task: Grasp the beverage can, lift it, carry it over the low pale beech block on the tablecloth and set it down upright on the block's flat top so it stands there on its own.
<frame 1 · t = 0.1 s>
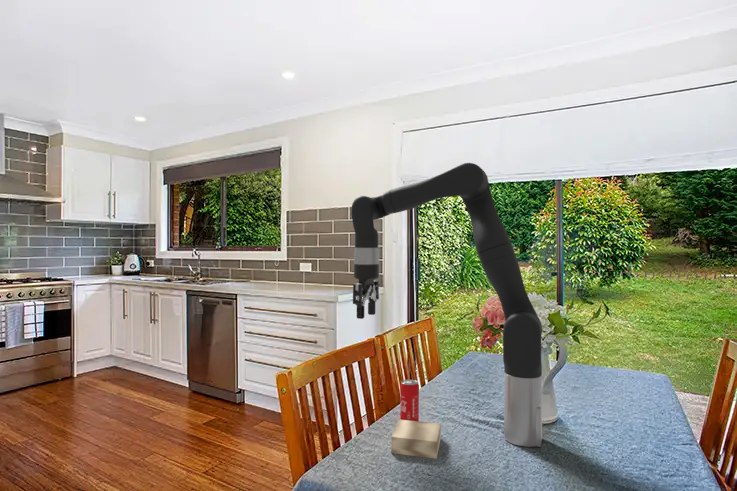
hand: (366, 316, 133), 29 cm above the table, fingers open, 8 cm apart
beverage can: (409, 425, 124), on the table
beech block: (416, 445, 111), on the table
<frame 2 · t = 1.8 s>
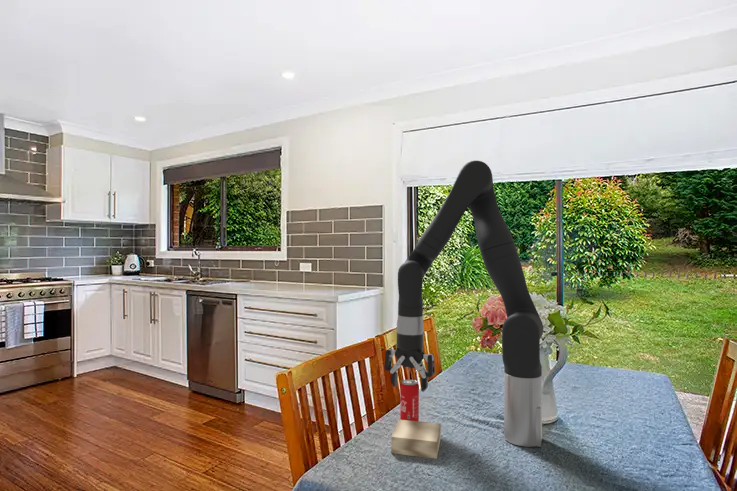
hand: (408, 388, 125), 10 cm above the table, fingers open, 8 cm apart
nothing on the table moved.
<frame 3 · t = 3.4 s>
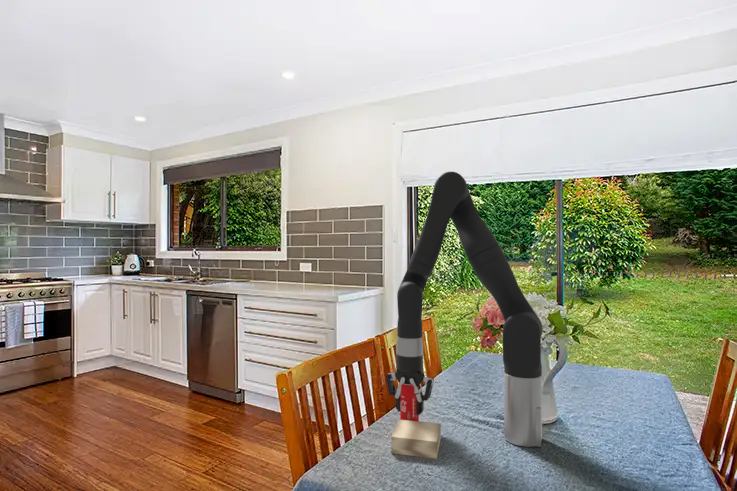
hand: (409, 412, 124), 3 cm above the table, fingers closed on beverage can, 5 cm apart
beverage can: (409, 425, 124), on the table, touching gripper
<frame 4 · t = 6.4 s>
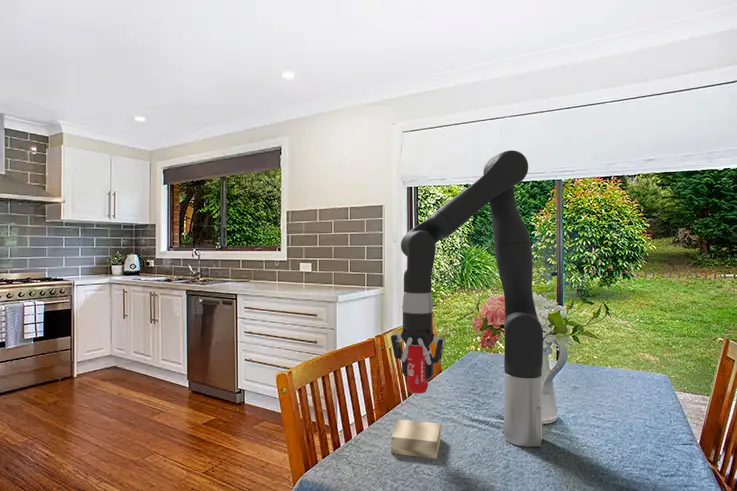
hand: (417, 376, 111), 17 cm above the table, fingers closed on beverage can, 5 cm apart
beverage can: (417, 391, 111), point 14 cm above the table, touching gripper
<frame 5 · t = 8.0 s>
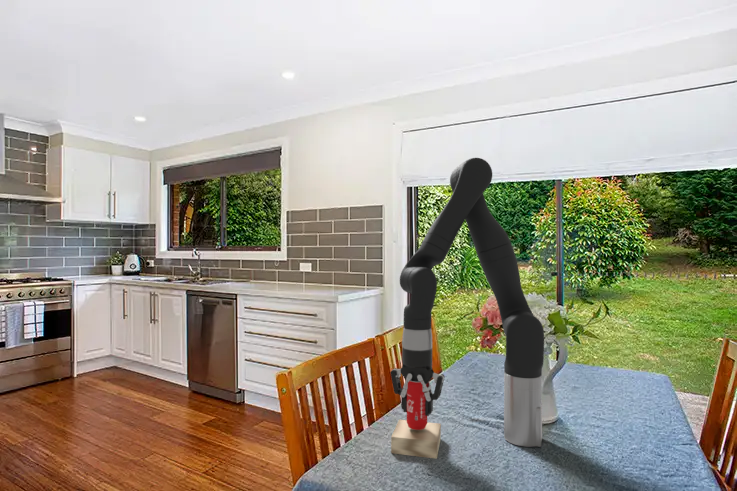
hand: (416, 412, 111), 8 cm above the table, fingers closed on beverage can, 5 cm apart
beverage can: (416, 427, 111), point 5 cm above the table, touching gripper
when the fingers open (8 cm above the table, at t = 9.5 s): beverage can stays where it is, resting on beech block.
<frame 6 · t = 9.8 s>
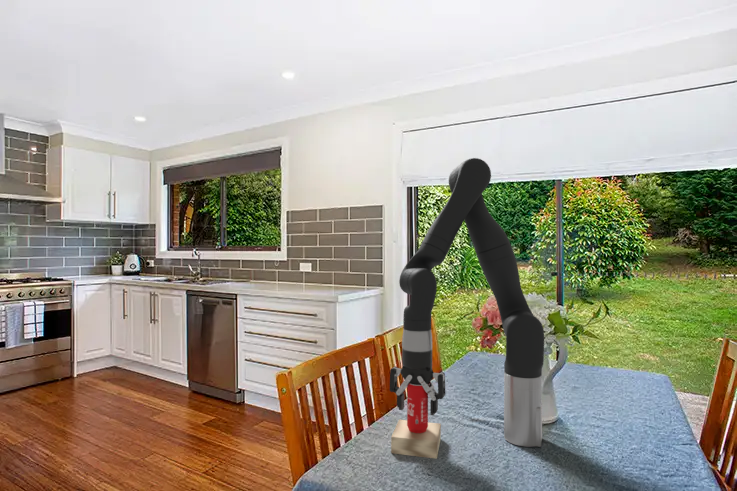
hand: (416, 411, 111), 9 cm above the table, fingers open, 8 cm apart
beverage can: (417, 430, 111), point 4 cm above the table, touching beech block
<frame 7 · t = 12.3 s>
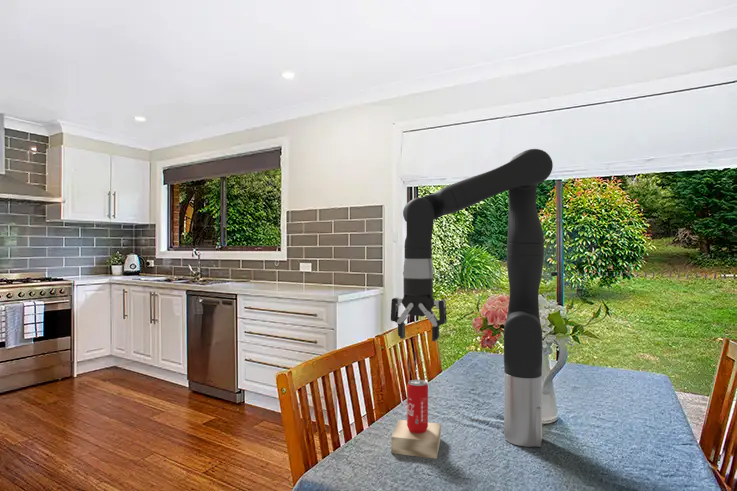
hand: (418, 339, 113), 26 cm above the table, fingers open, 8 cm apart
nothing on the table moved.
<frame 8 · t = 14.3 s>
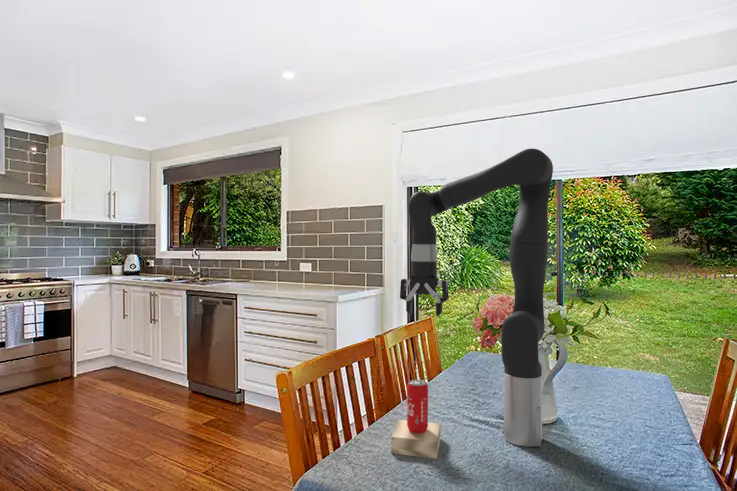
hand: (423, 314, 130), 30 cm above the table, fingers open, 8 cm apart
nothing on the table moved.
at the end: beverage can inside the target area on the beech block (0.1 cm from its centre), point 3.8 cm above the beech block's base; beverage can touching beech block; beverage can tilted 0° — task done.
